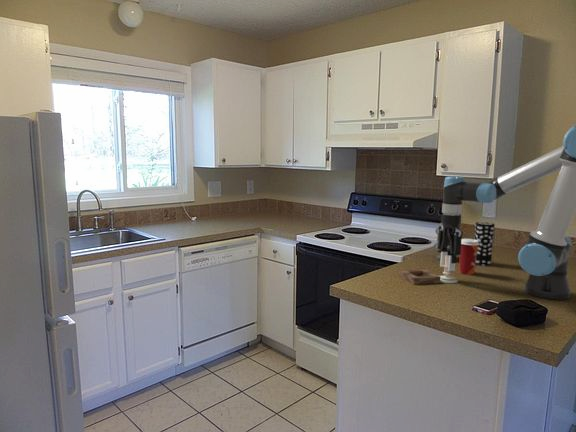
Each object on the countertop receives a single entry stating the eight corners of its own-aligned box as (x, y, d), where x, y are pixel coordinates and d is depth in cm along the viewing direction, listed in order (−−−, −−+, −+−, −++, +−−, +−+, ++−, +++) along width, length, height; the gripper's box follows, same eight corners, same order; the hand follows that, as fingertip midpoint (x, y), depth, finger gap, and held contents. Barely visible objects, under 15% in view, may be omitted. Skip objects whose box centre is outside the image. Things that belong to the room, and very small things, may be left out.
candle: (452, 277, 177) (453, 253, 176) (454, 280, 172) (454, 255, 171) (439, 276, 179) (440, 252, 178) (440, 279, 174) (441, 254, 173)
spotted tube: (474, 265, 201) (477, 224, 198) (470, 260, 208) (474, 221, 206) (492, 266, 199) (496, 225, 196) (488, 262, 207) (492, 222, 204)
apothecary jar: (460, 262, 205) (463, 226, 203) (435, 260, 207) (438, 225, 205) (455, 256, 217) (457, 222, 215) (431, 255, 219) (433, 221, 216)
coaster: (462, 282, 172) (462, 281, 172) (443, 283, 170) (443, 282, 170) (449, 276, 181) (449, 275, 181) (430, 277, 179) (431, 276, 179)
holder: (439, 282, 172) (440, 276, 171) (413, 284, 169) (413, 278, 169) (424, 274, 183) (424, 269, 183) (399, 275, 181) (399, 270, 180)
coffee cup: (478, 276, 182) (481, 242, 180) (458, 274, 184) (461, 241, 182) (474, 270, 190) (476, 238, 188) (455, 269, 192) (457, 237, 190)
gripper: (473, 217, 163) (468, 274, 167) (446, 210, 181) (442, 262, 184) (456, 217, 162) (452, 275, 165) (431, 211, 179) (427, 263, 183)
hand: (447, 268), depth 175 cm, fingers open, 5 cm apart
